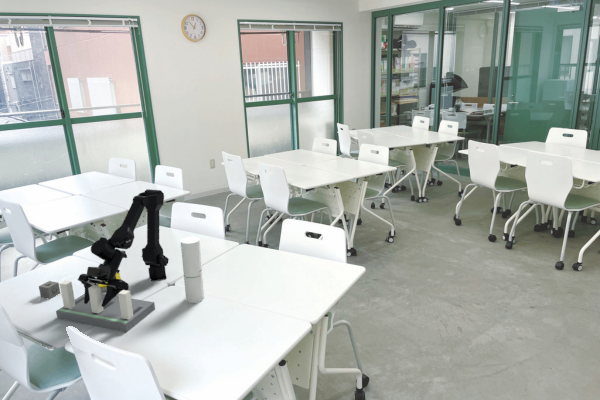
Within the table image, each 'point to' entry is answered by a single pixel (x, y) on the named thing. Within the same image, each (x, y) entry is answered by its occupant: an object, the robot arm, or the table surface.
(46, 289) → the dice cube
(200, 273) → the cylindrical container
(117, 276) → the emergency button
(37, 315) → the table surface
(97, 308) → the handle
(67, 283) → the slotted peg board
